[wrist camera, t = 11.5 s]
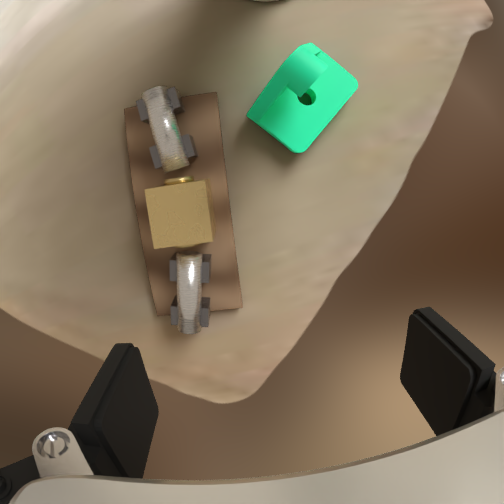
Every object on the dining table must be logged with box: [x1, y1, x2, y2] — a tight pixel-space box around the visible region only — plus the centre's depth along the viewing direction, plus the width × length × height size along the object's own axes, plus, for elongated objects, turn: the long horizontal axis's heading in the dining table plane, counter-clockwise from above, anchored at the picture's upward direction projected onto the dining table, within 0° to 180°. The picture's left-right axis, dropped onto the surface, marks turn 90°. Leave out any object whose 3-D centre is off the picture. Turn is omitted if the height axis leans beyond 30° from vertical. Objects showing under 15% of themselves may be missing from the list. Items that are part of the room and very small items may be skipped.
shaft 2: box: [170, 251, 212, 334], centre depth 36 cm, size 9×4×5 cm, turn 177°
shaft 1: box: [136, 86, 198, 174], centre depth 32 cm, size 9×4×5 cm, turn 17°
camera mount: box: [246, 43, 358, 153], centre depth 30 cm, size 12×8×10 cm, turn 142°
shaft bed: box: [124, 92, 243, 316], centre depth 37 cm, size 26×11×2 cm, turn 7°
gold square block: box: [145, 175, 216, 249], centre depth 33 cm, size 7×6×6 cm
